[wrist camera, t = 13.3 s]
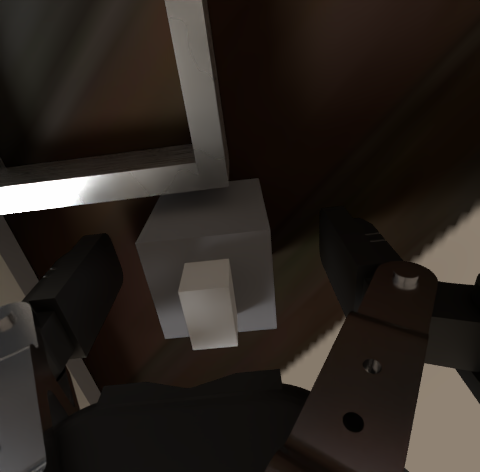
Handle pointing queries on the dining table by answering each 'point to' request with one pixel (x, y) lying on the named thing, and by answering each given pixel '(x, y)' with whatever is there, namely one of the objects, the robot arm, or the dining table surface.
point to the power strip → (15, 290)
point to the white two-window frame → (144, 161)
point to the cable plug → (210, 264)
